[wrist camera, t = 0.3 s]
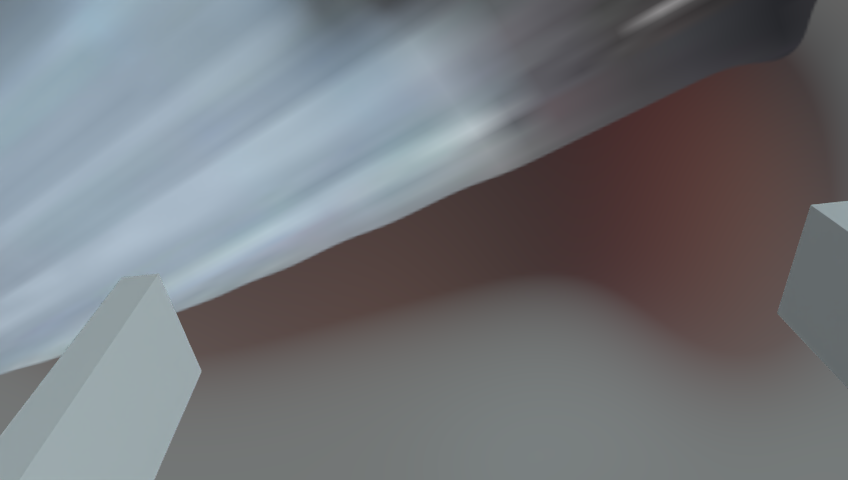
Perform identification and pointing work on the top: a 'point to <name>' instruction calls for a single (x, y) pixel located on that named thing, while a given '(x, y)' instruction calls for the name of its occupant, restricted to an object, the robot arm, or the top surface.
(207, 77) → the top surface
